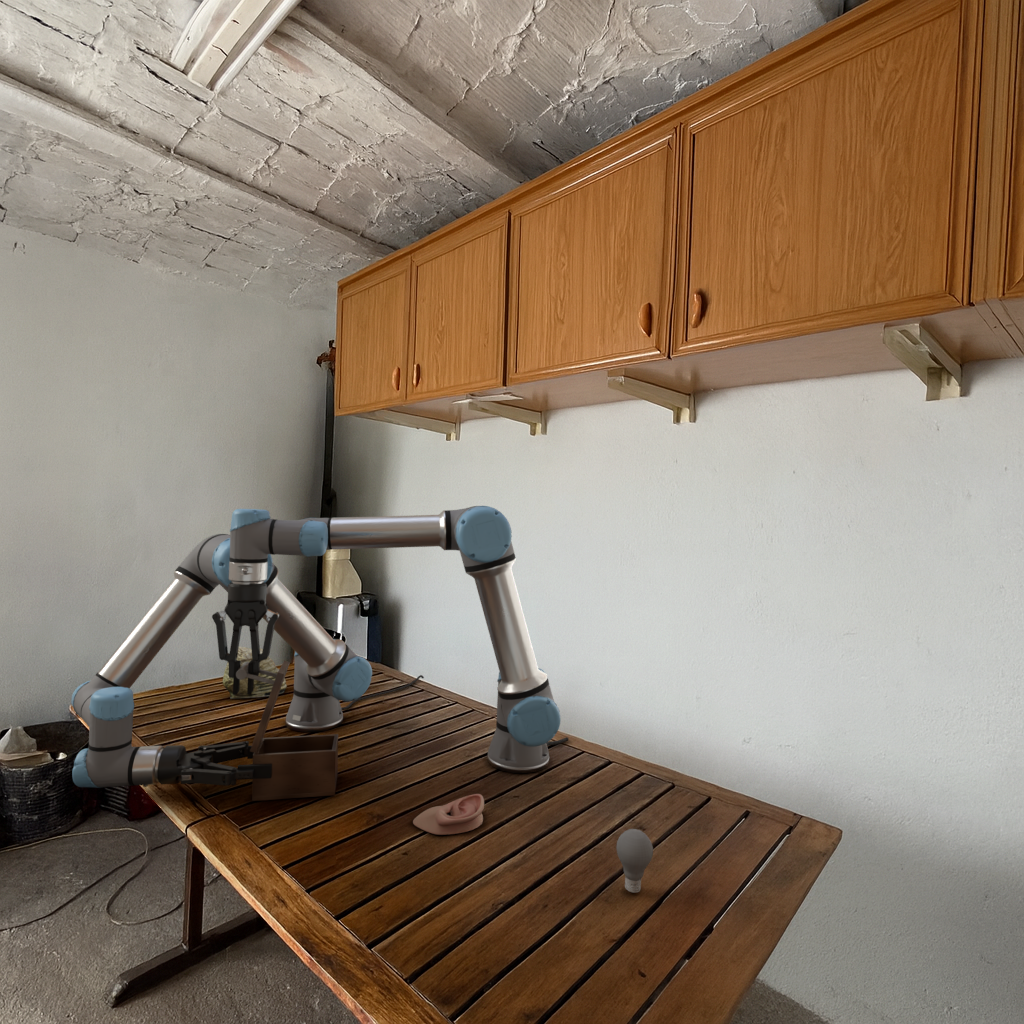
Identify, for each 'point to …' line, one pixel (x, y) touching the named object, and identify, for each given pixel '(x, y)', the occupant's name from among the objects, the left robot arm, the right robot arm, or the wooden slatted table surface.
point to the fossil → (259, 687)
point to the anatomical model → (452, 816)
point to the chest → (297, 767)
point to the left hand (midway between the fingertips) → (275, 760)
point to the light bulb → (634, 857)
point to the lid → (277, 684)
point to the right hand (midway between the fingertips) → (243, 692)
